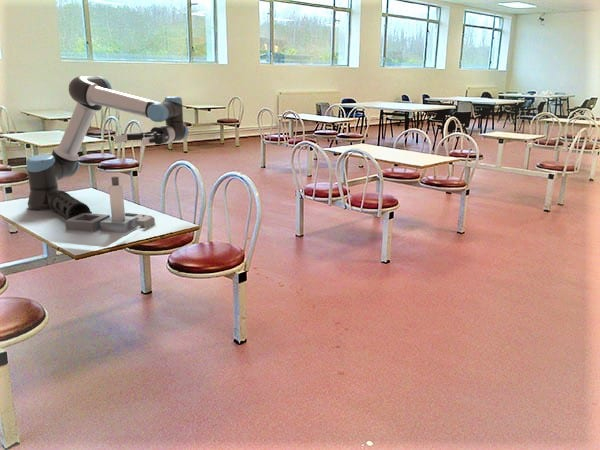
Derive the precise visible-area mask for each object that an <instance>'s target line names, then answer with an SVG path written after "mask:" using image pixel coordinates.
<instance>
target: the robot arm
mask: <svg viewBox="0 0 600 450" xmlns="http://www.w3.org/2000/svg"><path fill="white" fill-rule="evenodd" d="M68 93H69V96H70V97H71V99H72V100H74V101H75V102H76V105H75V107H74V110H73V112H72V114H71V117H70V119H69V121H68V124H67V127H66V128H65V131H64V133H63V136H62V138H61V140H60V142H59V145H57V146H54V148H53V150H52V152H51V154H50V153H44V154H43V153H42V154H41V153H40V154H39V155H38V154H35V155H33V156H30V157H28V158H27V159H26V171H27V177H28V184H29V195H28V201H27V208H28V209H29V210H31V211H32V210H34V211H48V210H52V209H51V208H50V207H49V205H48V197H49V195H50V194H51V193H53V192H55V191H59V186H58V181H59V180H63V179H66V178H67V179H68V178H70V177H73V176H74V175H75V174H76V173H78V171H79V168H80V161H79V159H80V156H79V154H78V153H79V150H80V149H81V146H82V144H83V141H84V139H85V137H86V135H87V132H88V131H89V127H90V126H91V123H92V121H93V118H94V117H95V115H96V112H99V111H101V110H102V107H106V108H109V109H112V110H116V111H120V112H123V113H124V112H125V113H128V114H132V115H137V116H140V117H144V118H147V119H150V120H151V121H153V122H155V123H159V122H160V123H163V122H165V125H164V124H163V125H160V126H154V127H152V128H151V129H150V131H141V132H130V133H129V132H128V133H121V134H120V135H114V144H120V143H127V141H142V143H141V144H142V146H147V145H152V144H155V145H163V144H165V145H168V143H172V142H179V141H182V140H185V139H186V138H187V137H188V135H189V129H188V126H187V125H186V124H185V123H184V114H183V107H184V105H183V99H182V97H181V96H166V97H164V102H160V101H156V100H152V99H148V98H144V97H140V96H137V95H132V94H127V93H125V92H120V91H117V90H113V88H112V86H111V83H110V82H109V80H108V79H106V78H105V77H103V76H99V75H88V76H87V75H82V76H81V75H79V76H76V77H74V78H73V79H72V80H71V81H69V85H68Z"/></svg>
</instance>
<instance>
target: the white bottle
mask: <svg viewBox="0 0 600 450" xmlns="http://www.w3.org/2000/svg"><path fill="white" fill-rule="evenodd" d="M123 186H124V185H123V183H120V181H119V176H111V183H110V184H108V193H109V204H110V212H111V213H110V216H112V221H123V220H125V213H126V211H125V200H124V187H123Z"/></svg>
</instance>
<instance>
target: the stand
mask: <svg viewBox="0 0 600 450" xmlns="http://www.w3.org/2000/svg"><path fill="white" fill-rule="evenodd" d="M100 226H101V228H100V231H101V232H112V233H122V234H125V233H127V232H128V231H130V230H131V229H134V228H135V227H137V226H138V225H137V217H130V216H125V220H123V221H112V215H110V217H109V218H107V219H105V220H103V221H101V222H100ZM136 230H137V228H135V229H134V230H132V231H130V232H128V233H127V234H125V235H124V237H126V236H127V235H128V236H129V235H130V234H131V233H133V232H134V231H136Z"/></svg>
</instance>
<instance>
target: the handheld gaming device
mask: <svg viewBox="0 0 600 450" xmlns="http://www.w3.org/2000/svg"><path fill="white" fill-rule="evenodd" d="M125 216H130V217H137V226H139V227H138V228H139V229H147V228H149V227H150V226H153V225H154V224H156V221H155V220H156V219H155V217H154V216H152V215H148V214H143V213H142V214H141V213H132V212H125Z"/></svg>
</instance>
